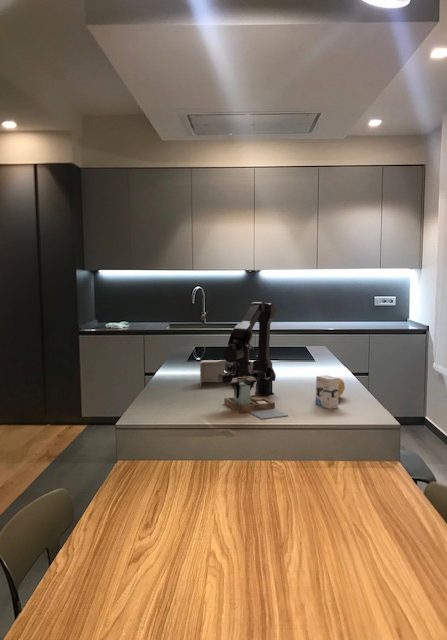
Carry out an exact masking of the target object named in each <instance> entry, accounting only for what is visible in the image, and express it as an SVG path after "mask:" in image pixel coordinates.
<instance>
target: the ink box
mask: <svg viewBox="0 0 447 640" xmlns="http://www.w3.org/2000/svg"><path fill="white" fill-rule="evenodd" d="M338 378H339V377H337V378H335V376H330V375H325V374H324V375H318V376H317V375H316V378H315V380H316V381H315V382H316V383H315V384H316V385H315V405H317V406H320V407H322V408H324V409H325V408H326V409H327V410H329V409H330V410H331V409H337V408H339V397H340V396H339V379H338ZM338 396H339V397H338Z"/></svg>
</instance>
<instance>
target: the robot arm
mask: <svg viewBox="0 0 447 640" xmlns="http://www.w3.org/2000/svg"><path fill="white" fill-rule="evenodd" d="M249 307H250V308H249V309H248V311H247V313H245V316H244V318H243V319H242V321H241V322H239V323H238V324H236V325H235V326H234V327H233V329H232V330H231V333H230V336H229V339H228V343H227V348H225V350H224V352H223V354H222V355H223V360H226V361H227V362H229V363H232V362H233V365H231V364H225V370H224V372H229V374H228V373H221V374H219V375H218V381H220V382H219V383H223V384H227V383H228V384H230V385H231V387H232V389H233V393H234V392H235V395H236V398H237V399H238V398H239V382H237V379H244V380H245V382H244V383H245V384H247V385H249V386H250V391H252V388H253V387H254V386H255V391H254V393H255V394H256V395H259V396H261V397H263V396H270V395H271V396H272V395H275V392H273V382H275V381H276V378H277V377H276V376H277V375H276V373H275V370H274V368H273V362H272V361H271V359H270V338H271V332H270V331H271V324H272V322H273V321H274V319H275V314H276V309H277V308H276V306H275V305H274V304H273V303H272V302H270V303H269V302H268V303H267V302H262V301H253V302H251V303H250V306H249ZM256 322H258V339H257V340H258V342H257V343H258V345H257V357H256V359H255V360H253V361H252V363H253V369H252V372H251V373H250V372H249V365H250V362H249V360H250V347H252V346H251V340H252V339H253V335H254V332H253V329H254V326H255V324H256ZM231 374H235V375H231ZM239 376H240V377H239ZM245 378H246V379H245ZM253 385H254V386H253Z"/></svg>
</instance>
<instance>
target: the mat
mask: <svg viewBox="0 0 447 640" xmlns="http://www.w3.org/2000/svg"><path fill="white" fill-rule="evenodd" d="M248 413H249V414H251V415H252V416H255V417H256V418H258V419H260V420H269V419H275V418H277V419H278V418H284V417H289V414H286V413H284V412H283V411H280V410H279V409H276V408H275V409H274V408H273V409H264V410H256V411H249V412H248Z"/></svg>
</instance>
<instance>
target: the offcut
mask: <svg viewBox="0 0 447 640" xmlns="http://www.w3.org/2000/svg"><path fill="white" fill-rule="evenodd" d="M250 401H252V402H254V403H256V402H258V401H262V399H261V398H258V397H250Z"/></svg>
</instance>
